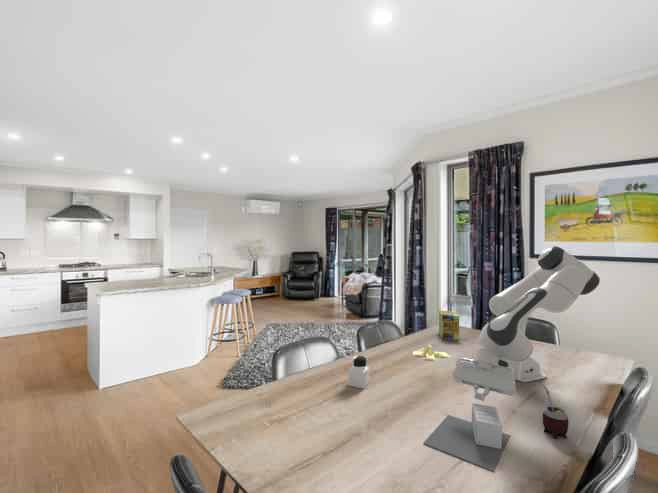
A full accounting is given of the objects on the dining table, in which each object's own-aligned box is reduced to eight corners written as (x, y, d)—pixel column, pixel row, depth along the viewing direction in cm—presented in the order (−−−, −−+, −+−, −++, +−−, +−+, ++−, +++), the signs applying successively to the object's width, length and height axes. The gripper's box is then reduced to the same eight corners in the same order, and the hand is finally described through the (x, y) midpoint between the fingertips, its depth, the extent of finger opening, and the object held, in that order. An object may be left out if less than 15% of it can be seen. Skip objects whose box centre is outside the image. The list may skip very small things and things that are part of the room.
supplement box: (494, 427, 113) (501, 450, 101) (470, 423, 116) (474, 444, 104) (496, 406, 113) (503, 426, 101) (472, 402, 115) (476, 421, 103)
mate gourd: (568, 443, 106) (569, 395, 105) (539, 435, 110) (540, 389, 109) (567, 431, 112) (568, 386, 112) (539, 424, 116) (540, 381, 116)
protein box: (442, 339, 217) (442, 315, 217) (438, 332, 233) (438, 310, 232) (459, 340, 216) (459, 315, 215) (454, 333, 231) (454, 311, 231)
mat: (448, 415, 122) (448, 414, 122) (510, 435, 109) (510, 435, 109) (423, 443, 104) (423, 442, 104) (493, 471, 92) (493, 470, 92)
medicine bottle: (369, 382, 149) (369, 355, 149) (364, 389, 143) (364, 360, 143) (354, 379, 152) (354, 353, 152) (348, 386, 146) (348, 358, 146)
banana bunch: (455, 357, 185) (455, 346, 185) (436, 365, 173) (436, 353, 173) (420, 347, 202) (420, 337, 202) (401, 353, 190) (401, 342, 190)
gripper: (456, 352, 129) (446, 386, 121) (516, 365, 116) (510, 404, 108) (459, 361, 132) (450, 394, 125) (518, 374, 119) (512, 412, 112)
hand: (479, 399), depth 116 cm, fingers closed
